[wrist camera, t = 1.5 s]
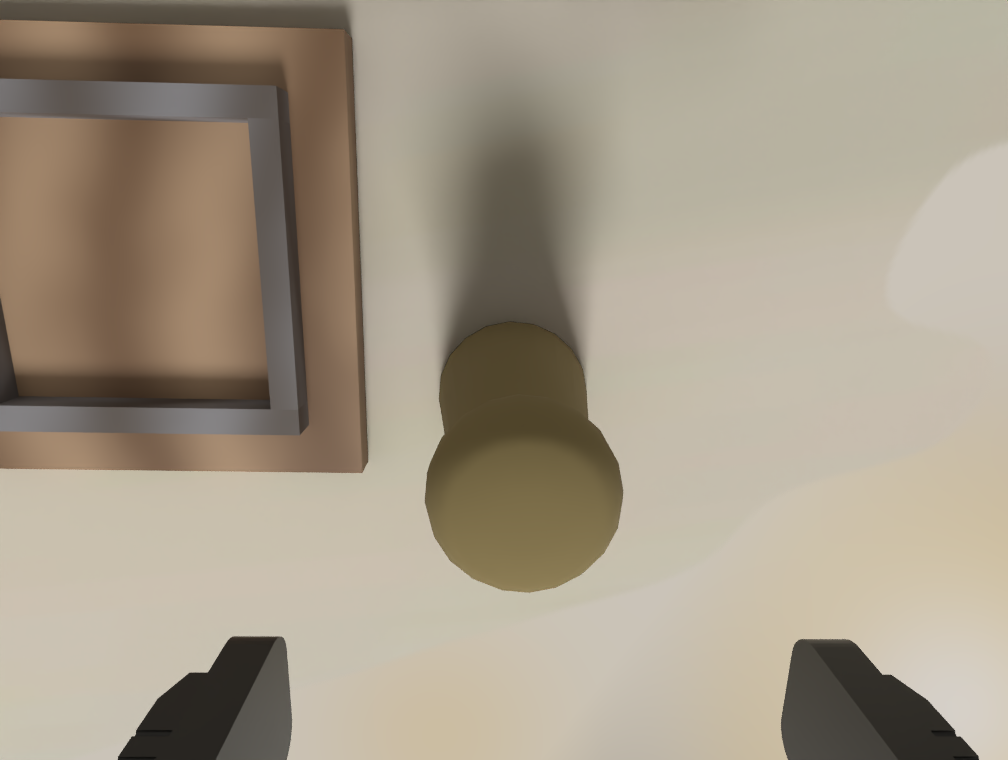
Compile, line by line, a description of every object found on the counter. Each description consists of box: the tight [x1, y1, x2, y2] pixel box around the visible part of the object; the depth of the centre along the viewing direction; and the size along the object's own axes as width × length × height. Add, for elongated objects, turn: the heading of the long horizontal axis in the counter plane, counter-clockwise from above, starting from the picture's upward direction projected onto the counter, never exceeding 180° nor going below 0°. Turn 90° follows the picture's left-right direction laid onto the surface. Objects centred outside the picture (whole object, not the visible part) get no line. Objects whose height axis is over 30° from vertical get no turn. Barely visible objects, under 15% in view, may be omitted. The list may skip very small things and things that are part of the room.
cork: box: [425, 322, 623, 593], centre depth 20 cm, size 6×6×11 cm
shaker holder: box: [0, 20, 368, 473], centre depth 23 cm, size 16×16×2 cm
